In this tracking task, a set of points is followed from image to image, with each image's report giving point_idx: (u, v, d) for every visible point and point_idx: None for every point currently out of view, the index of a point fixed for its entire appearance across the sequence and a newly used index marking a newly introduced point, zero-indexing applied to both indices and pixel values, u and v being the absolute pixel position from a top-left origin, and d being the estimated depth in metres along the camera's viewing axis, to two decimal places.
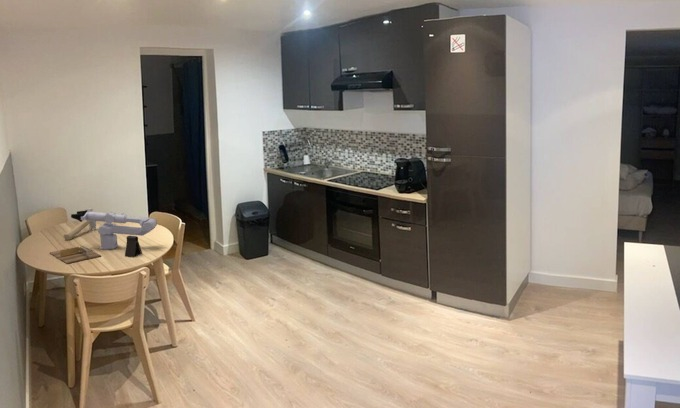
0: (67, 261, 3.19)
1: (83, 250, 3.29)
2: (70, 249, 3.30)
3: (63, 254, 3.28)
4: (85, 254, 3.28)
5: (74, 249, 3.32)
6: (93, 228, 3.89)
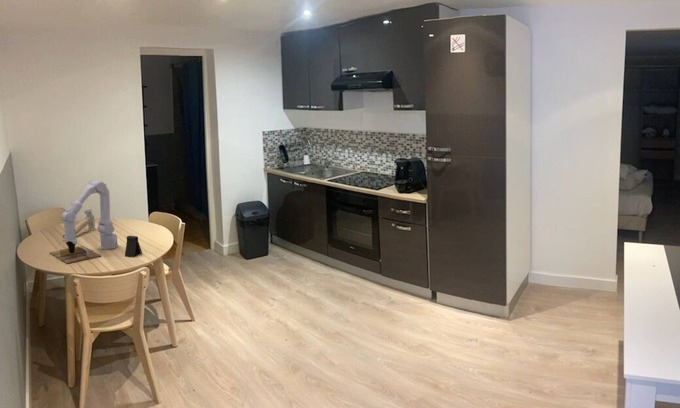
0: (67, 261, 3.19)
1: (83, 250, 3.29)
2: None
3: (63, 254, 3.28)
4: (85, 254, 3.28)
5: None
6: (92, 228, 3.88)
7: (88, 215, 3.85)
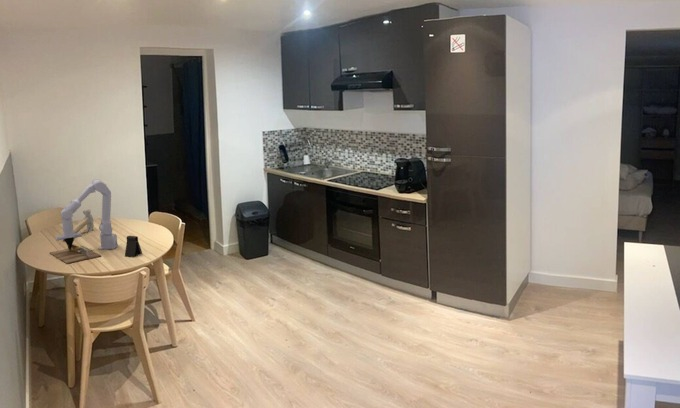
0: (67, 261, 3.19)
1: (83, 250, 3.29)
2: (73, 246, 3.37)
3: None
4: (85, 254, 3.28)
5: (75, 247, 3.36)
6: (90, 229, 3.87)
7: (87, 215, 3.84)
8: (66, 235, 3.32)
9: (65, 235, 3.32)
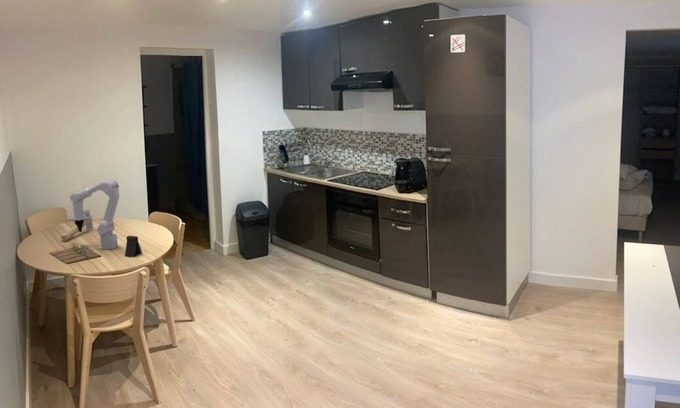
0: (67, 261, 3.19)
1: (83, 250, 3.29)
2: (75, 245, 3.38)
3: (73, 247, 3.42)
4: (85, 254, 3.28)
5: (76, 247, 3.37)
6: (90, 229, 3.87)
7: (86, 216, 3.83)
8: (75, 217, 3.46)
9: (74, 217, 3.47)
